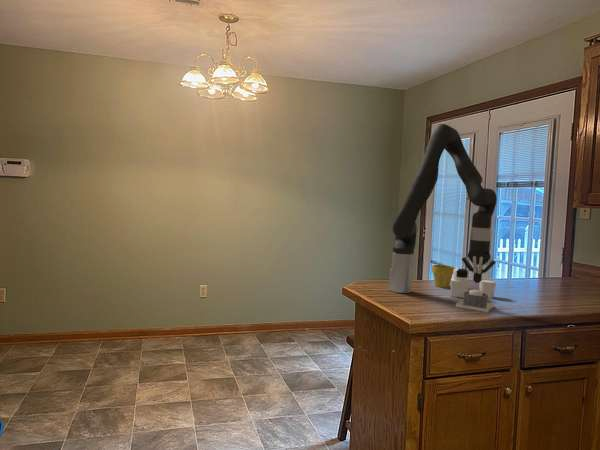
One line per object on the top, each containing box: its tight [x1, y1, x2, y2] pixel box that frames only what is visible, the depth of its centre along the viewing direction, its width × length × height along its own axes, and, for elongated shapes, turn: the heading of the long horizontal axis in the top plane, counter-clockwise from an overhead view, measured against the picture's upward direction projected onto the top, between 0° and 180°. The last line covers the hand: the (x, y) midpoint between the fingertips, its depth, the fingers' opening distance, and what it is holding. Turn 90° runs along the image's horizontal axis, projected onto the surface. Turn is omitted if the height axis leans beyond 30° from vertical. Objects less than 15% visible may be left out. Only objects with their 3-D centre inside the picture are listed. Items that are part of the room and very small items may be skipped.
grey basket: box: [455, 290, 495, 313], centre depth 181 cm, size 12×12×5 cm
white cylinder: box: [478, 279, 497, 299], centre depth 201 cm, size 7×7×7 cm
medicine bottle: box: [449, 268, 470, 299], centre depth 199 cm, size 7×7×12 cm
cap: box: [468, 289, 483, 296], centre depth 181 cm, size 5×5×5 cm
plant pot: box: [431, 264, 455, 288], centre depth 220 cm, size 10×10×10 cm
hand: (477, 282), depth 180 cm, fingers closed
